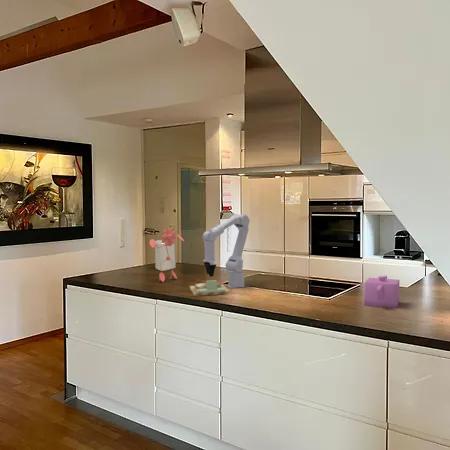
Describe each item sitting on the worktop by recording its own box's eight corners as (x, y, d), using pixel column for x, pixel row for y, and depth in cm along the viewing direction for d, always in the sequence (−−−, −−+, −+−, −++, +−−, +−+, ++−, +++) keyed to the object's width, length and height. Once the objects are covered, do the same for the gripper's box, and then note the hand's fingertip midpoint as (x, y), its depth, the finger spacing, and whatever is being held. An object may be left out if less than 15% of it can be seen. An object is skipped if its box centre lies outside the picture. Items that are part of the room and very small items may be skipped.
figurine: (148, 283, 300) (146, 228, 297) (178, 277, 319) (177, 226, 316) (163, 286, 290) (161, 230, 287) (193, 279, 308) (192, 226, 305)
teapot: (400, 299, 246) (400, 272, 245) (395, 310, 224) (395, 281, 223) (370, 296, 253) (370, 271, 252) (362, 307, 230) (362, 279, 229)
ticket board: (222, 286, 285) (222, 281, 285) (229, 293, 266) (229, 288, 266) (189, 288, 281) (189, 283, 281) (194, 295, 262) (194, 290, 262)
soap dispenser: (163, 271, 342) (162, 241, 341) (148, 269, 350) (148, 240, 348) (176, 268, 355) (175, 239, 353) (162, 266, 363) (161, 238, 361)
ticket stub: (222, 289, 269) (222, 278, 268) (224, 291, 264) (224, 280, 263) (198, 290, 266) (198, 280, 266) (199, 292, 261) (199, 281, 261)
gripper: (200, 250, 278) (201, 273, 279) (204, 254, 264) (205, 278, 265) (212, 250, 279) (212, 272, 281) (217, 253, 265) (217, 277, 266)
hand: (210, 275), depth 273 cm, fingers open, 7 cm apart
